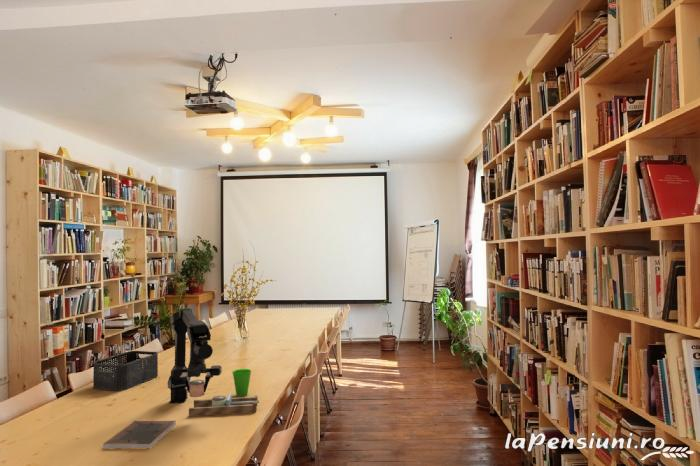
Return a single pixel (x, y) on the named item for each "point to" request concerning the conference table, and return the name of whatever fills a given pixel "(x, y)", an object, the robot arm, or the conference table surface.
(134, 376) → the storage bin
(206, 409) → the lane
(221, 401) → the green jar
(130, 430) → the picture frame
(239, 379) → the cup
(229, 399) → the pusher
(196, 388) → the jar
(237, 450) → the conference table surface
